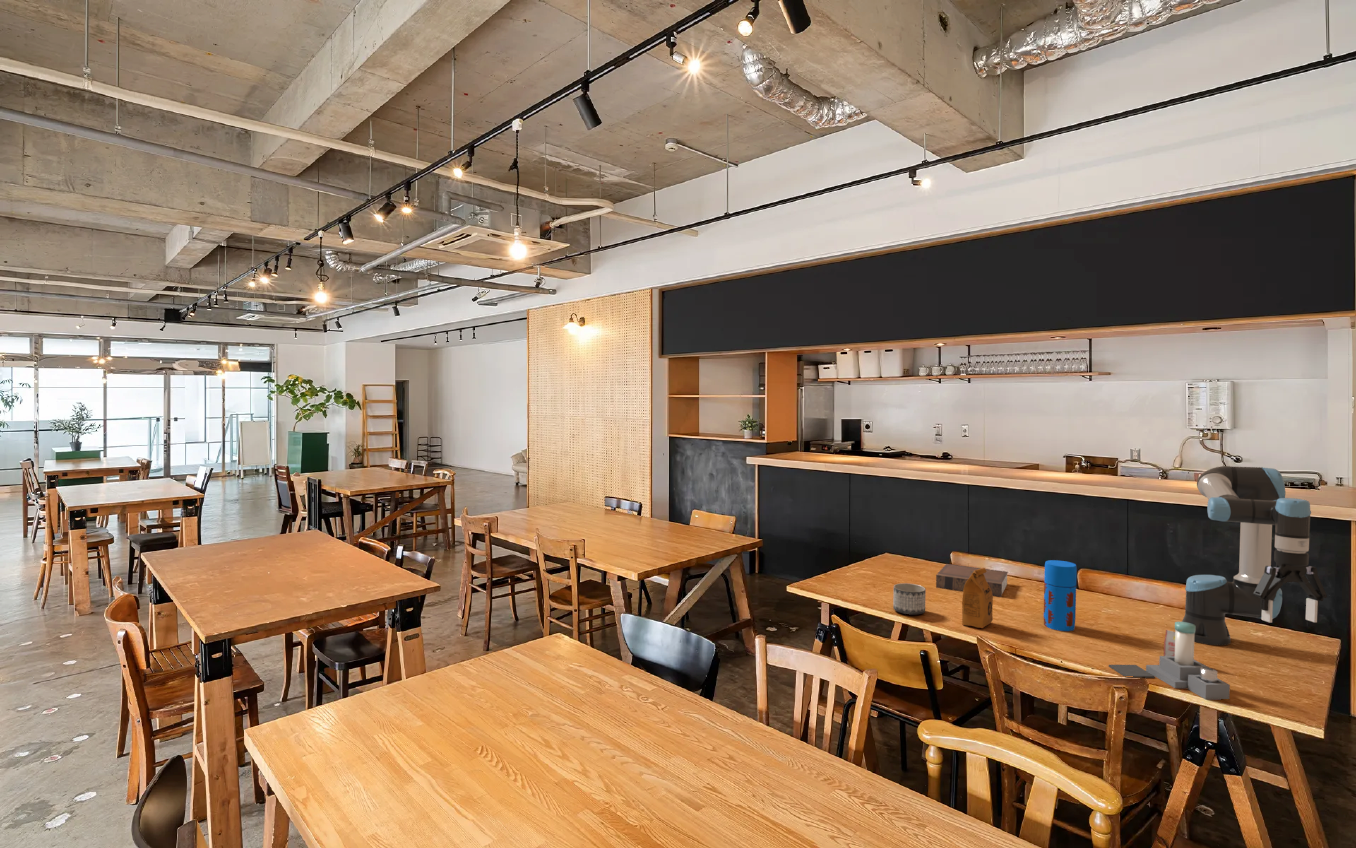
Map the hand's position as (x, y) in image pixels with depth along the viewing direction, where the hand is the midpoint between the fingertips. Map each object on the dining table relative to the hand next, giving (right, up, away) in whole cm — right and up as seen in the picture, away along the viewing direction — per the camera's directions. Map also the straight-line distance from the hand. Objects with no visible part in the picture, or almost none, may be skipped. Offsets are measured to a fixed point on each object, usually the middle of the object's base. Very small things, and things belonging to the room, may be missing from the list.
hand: (1288, 621), depth 198 cm
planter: (-86, -20, +80) cm, 119 cm away
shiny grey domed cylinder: (-22, -21, +3) cm, 30 cm away
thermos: (-33, -21, +62) cm, 73 cm away
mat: (-34, -22, +19) cm, 45 cm away
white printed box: (-13, -22, +27) cm, 38 cm away
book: (-42, -19, +118) cm, 127 cm away
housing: (-22, -23, +9) cm, 33 cm away
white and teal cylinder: (-22, -21, +13) cm, 33 cm away
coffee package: (-64, -21, +64) cm, 93 cm away
